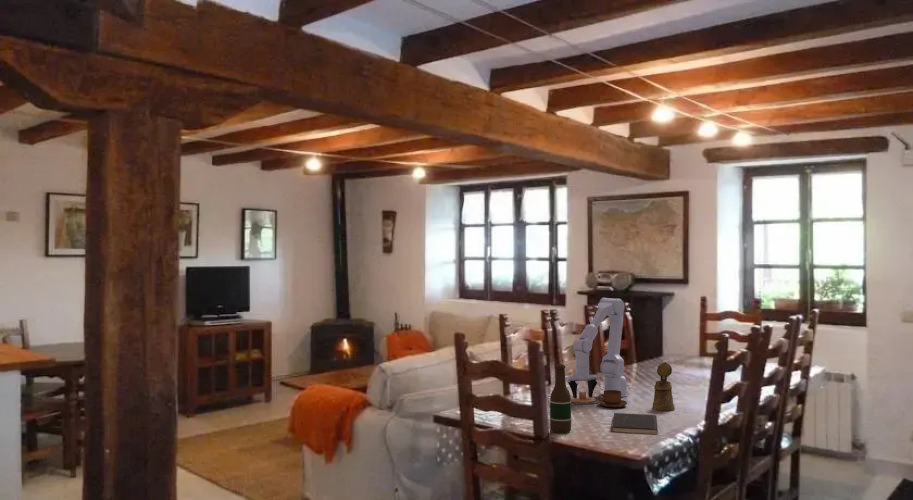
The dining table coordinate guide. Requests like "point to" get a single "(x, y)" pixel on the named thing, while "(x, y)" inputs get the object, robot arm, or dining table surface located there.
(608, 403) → the cup and saucer
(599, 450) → the dining table surface
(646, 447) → the dining table surface
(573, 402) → the coaster
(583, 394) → the lid
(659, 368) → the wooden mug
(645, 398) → the dining table surface
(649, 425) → the hardcover book
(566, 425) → the beer bottle
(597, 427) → the dining table surface
